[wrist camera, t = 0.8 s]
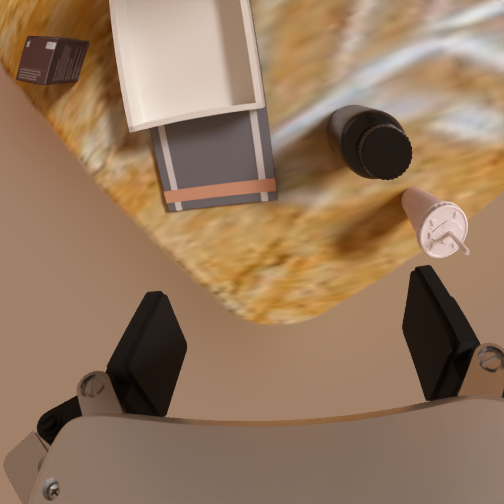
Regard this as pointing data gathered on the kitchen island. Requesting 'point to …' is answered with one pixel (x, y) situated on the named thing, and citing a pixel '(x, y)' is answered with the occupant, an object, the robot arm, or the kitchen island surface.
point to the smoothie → (435, 223)
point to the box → (51, 60)
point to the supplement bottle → (369, 142)
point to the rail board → (216, 159)
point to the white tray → (185, 59)
